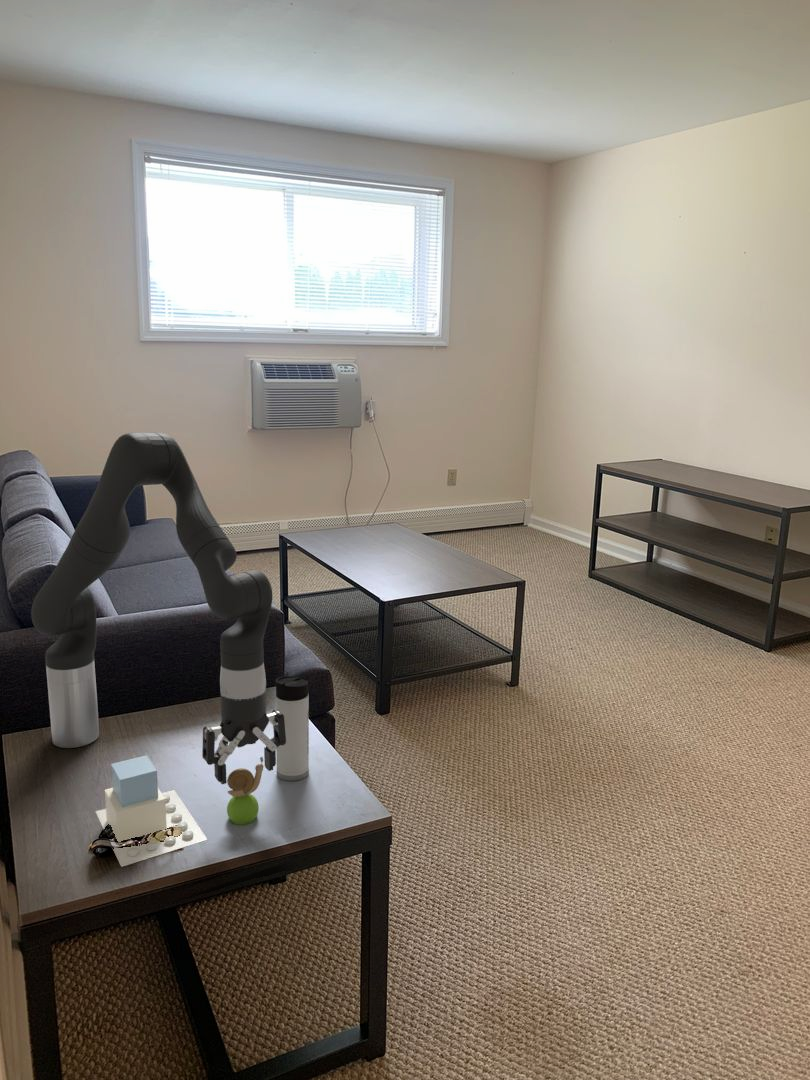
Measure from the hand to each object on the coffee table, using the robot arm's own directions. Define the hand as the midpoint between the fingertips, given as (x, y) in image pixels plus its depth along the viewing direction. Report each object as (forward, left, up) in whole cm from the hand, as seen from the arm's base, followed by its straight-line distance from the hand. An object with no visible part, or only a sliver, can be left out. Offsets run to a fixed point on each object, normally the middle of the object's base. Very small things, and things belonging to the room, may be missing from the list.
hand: (245, 775), depth 138 cm
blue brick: (-7, -17, -2) cm, 19 cm away
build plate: (-6, -15, -9) cm, 19 cm away
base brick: (-7, -17, -8) cm, 20 cm away
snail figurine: (0, 0, -9) cm, 9 cm away
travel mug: (-11, +14, -9) cm, 20 cm away
